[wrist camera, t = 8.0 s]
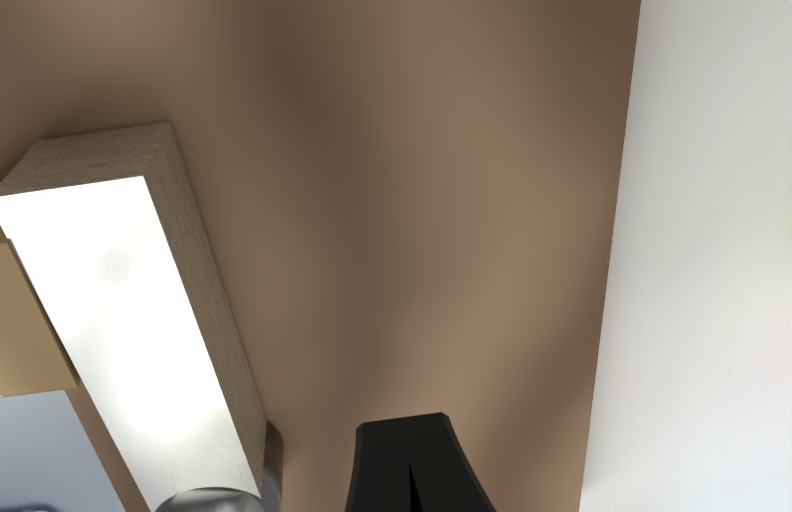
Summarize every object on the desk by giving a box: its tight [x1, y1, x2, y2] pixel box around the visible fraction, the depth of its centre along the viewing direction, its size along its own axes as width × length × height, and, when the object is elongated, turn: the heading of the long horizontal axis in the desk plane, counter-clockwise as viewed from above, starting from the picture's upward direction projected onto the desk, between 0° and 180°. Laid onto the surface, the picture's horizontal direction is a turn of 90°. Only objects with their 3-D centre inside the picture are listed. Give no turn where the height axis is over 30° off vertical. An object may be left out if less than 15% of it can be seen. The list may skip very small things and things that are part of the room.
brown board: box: [0, 0, 641, 512], centre depth 18 cm, size 16×22×4 cm
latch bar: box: [0, 121, 284, 512], centre depth 17 cm, size 13×4×3 cm, turn 6°
